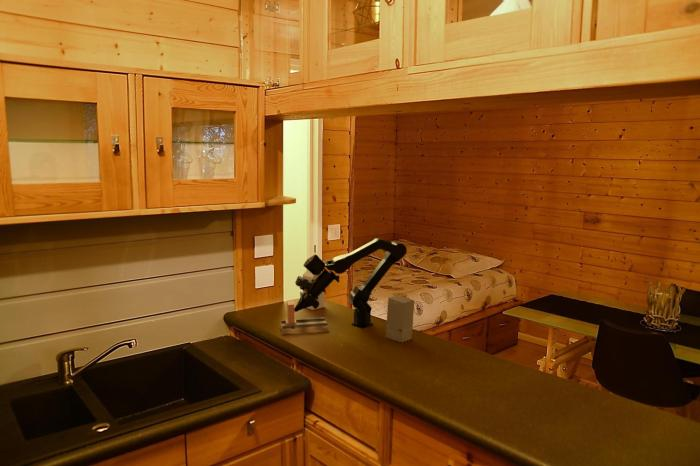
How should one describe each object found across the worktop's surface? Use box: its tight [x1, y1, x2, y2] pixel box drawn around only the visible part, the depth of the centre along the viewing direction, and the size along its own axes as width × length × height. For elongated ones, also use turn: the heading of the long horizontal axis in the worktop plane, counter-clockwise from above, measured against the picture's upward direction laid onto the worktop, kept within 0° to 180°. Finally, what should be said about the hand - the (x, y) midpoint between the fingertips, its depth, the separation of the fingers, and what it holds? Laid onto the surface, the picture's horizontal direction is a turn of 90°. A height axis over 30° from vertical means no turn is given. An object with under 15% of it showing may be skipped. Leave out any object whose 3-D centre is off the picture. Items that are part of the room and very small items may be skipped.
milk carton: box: [302, 269, 326, 311], centre depth 243 cm, size 7×7×19 cm
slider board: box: [280, 317, 329, 335], centre depth 216 cm, size 18×10×3 cm, turn 101°
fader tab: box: [284, 300, 297, 325], centre depth 214 cm, size 4×5×9 cm
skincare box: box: [385, 295, 415, 343], centre depth 204 cm, size 8×7×16 cm
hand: (294, 311), depth 214 cm, fingers closed, pressing on fader tab
